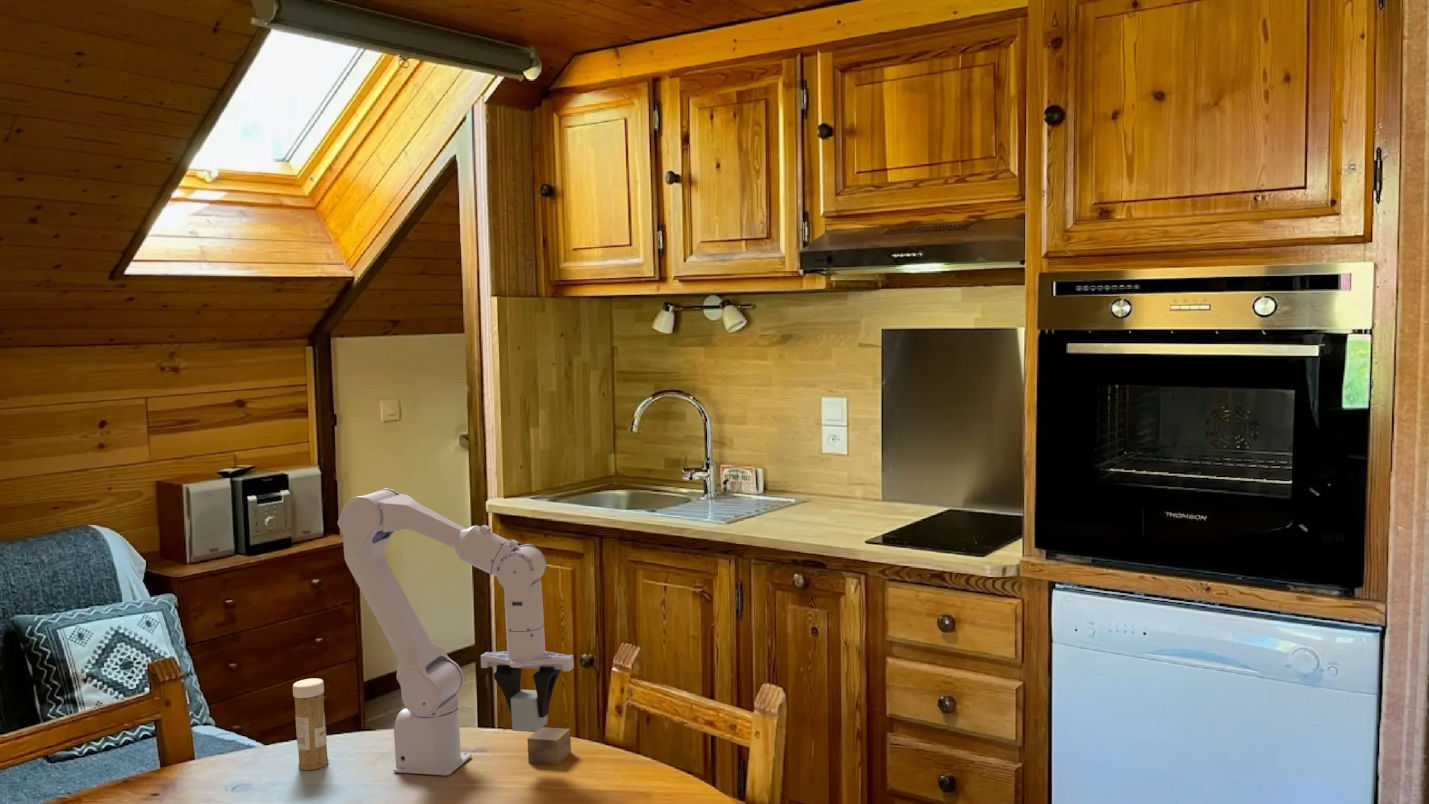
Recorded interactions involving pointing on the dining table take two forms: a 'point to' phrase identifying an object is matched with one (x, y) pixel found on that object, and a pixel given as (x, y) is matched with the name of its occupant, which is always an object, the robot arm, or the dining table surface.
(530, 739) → the walnut block
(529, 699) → the slate block
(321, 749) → the sprinkles bottle
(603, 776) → the dining table surface
